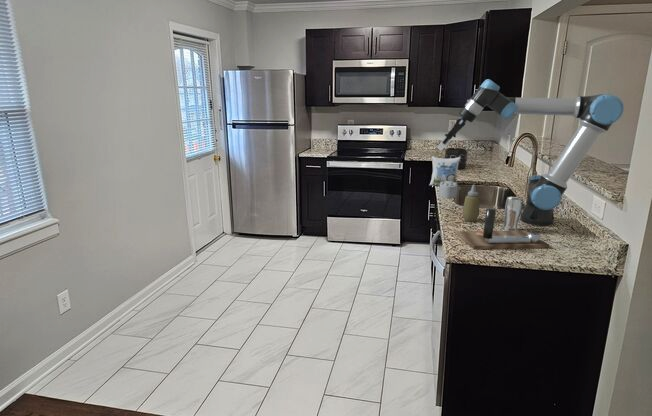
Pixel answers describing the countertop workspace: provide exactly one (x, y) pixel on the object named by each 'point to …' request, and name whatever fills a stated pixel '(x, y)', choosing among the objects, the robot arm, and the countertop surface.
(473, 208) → the squeeze bottle
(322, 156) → the countertop surface
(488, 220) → the lever
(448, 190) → the lumpy-topped squat cylinder
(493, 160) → the countertop surface
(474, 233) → the lever board
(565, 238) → the countertop surface
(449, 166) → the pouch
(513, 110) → the robot arm
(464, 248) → the countertop surface
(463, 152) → the dark rounded-top box
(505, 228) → the beer glass
